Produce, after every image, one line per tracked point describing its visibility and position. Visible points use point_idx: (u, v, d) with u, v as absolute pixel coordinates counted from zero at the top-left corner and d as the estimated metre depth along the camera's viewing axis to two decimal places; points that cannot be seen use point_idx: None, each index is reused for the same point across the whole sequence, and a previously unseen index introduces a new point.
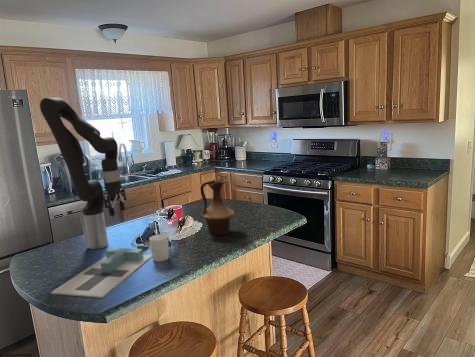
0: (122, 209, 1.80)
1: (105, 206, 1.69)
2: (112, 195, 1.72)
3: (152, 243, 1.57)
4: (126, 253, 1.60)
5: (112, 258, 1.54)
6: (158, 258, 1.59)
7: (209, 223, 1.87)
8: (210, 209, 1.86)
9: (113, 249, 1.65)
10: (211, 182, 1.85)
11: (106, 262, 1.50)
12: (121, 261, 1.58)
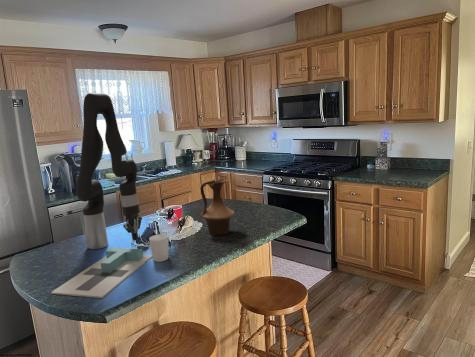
0: None
1: (128, 232, 1.67)
2: (131, 223, 1.66)
3: (152, 243, 1.57)
4: (126, 253, 1.60)
5: (112, 258, 1.54)
6: (158, 258, 1.59)
7: (209, 223, 1.87)
8: (210, 209, 1.86)
9: (113, 249, 1.65)
10: (211, 182, 1.85)
11: (106, 262, 1.50)
12: (121, 261, 1.58)
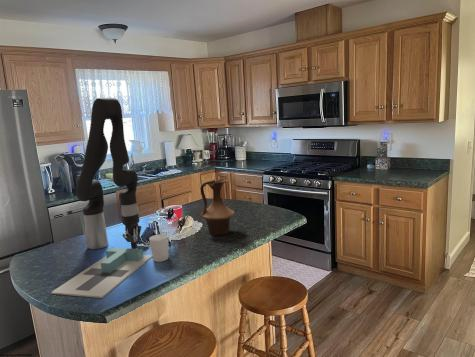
0: None
1: (127, 241, 1.67)
2: (130, 232, 1.66)
3: (152, 243, 1.57)
4: (126, 253, 1.60)
5: (112, 258, 1.54)
6: (158, 258, 1.59)
7: (209, 223, 1.87)
8: (210, 209, 1.86)
9: (113, 249, 1.65)
10: (211, 182, 1.85)
11: (106, 262, 1.50)
12: (121, 261, 1.58)
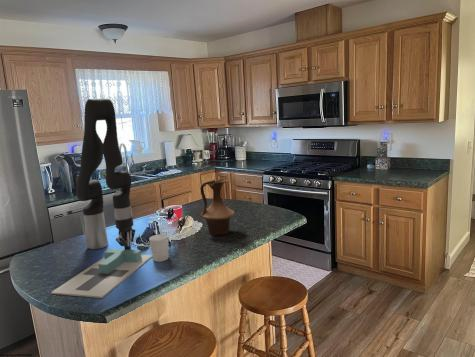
0: None
1: (121, 245, 1.62)
2: (124, 236, 1.61)
3: (152, 243, 1.57)
4: (124, 254, 1.59)
5: (110, 259, 1.53)
6: (158, 258, 1.59)
7: (209, 223, 1.87)
8: (210, 209, 1.86)
9: (111, 250, 1.63)
10: (211, 182, 1.85)
11: (104, 263, 1.49)
12: (119, 262, 1.57)
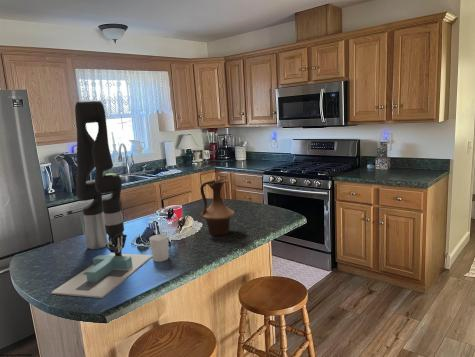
0: None
1: (111, 252, 1.56)
2: (114, 242, 1.54)
3: (152, 243, 1.57)
4: (114, 261, 1.53)
5: (99, 266, 1.47)
6: (158, 258, 1.59)
7: (209, 223, 1.87)
8: (210, 209, 1.86)
9: (101, 256, 1.57)
10: (211, 182, 1.85)
11: (92, 271, 1.43)
12: (108, 269, 1.50)
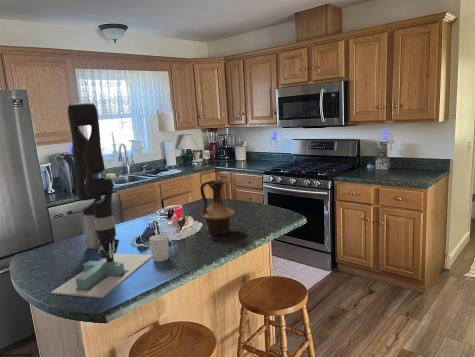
0: None
1: None
2: (105, 247, 1.49)
3: (152, 243, 1.57)
4: (105, 267, 1.47)
5: (89, 273, 1.41)
6: (158, 258, 1.59)
7: (209, 223, 1.87)
8: (210, 209, 1.86)
9: (92, 262, 1.51)
10: (211, 182, 1.85)
11: (82, 278, 1.37)
12: (99, 276, 1.44)
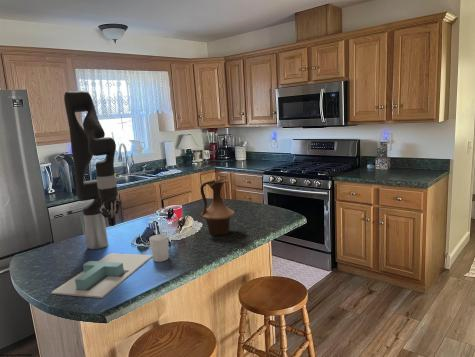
0: None
1: (104, 217, 1.53)
2: (107, 206, 1.51)
3: (152, 243, 1.57)
4: (105, 267, 1.47)
5: (89, 273, 1.41)
6: (158, 258, 1.59)
7: (209, 223, 1.87)
8: (210, 209, 1.86)
9: (91, 263, 1.51)
10: (211, 182, 1.85)
11: (81, 278, 1.37)
12: (99, 276, 1.44)
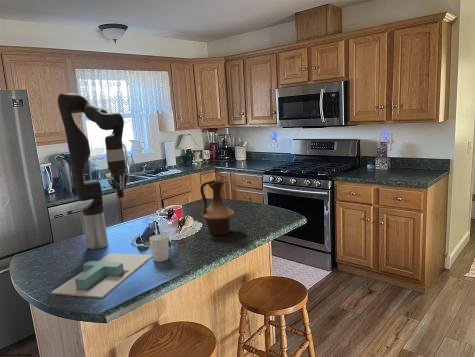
0: None
1: (113, 188, 1.61)
2: (116, 178, 1.60)
3: (152, 243, 1.57)
4: (105, 267, 1.47)
5: (89, 273, 1.41)
6: (158, 258, 1.59)
7: (209, 223, 1.87)
8: (210, 209, 1.86)
9: (91, 263, 1.51)
10: (211, 182, 1.85)
11: (81, 278, 1.37)
12: (99, 276, 1.44)
